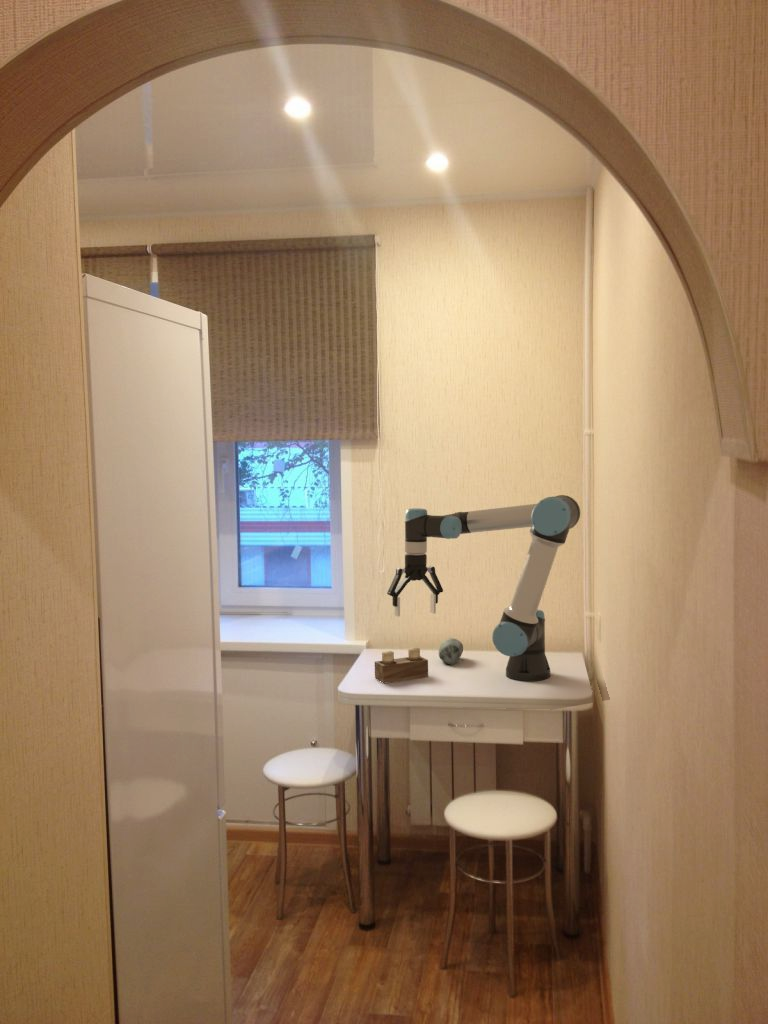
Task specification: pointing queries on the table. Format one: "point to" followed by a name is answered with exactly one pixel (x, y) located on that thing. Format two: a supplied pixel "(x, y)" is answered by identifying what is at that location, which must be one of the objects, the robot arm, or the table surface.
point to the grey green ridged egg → (451, 651)
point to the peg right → (414, 654)
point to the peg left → (387, 657)
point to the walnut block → (401, 670)
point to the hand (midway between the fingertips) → (415, 614)
